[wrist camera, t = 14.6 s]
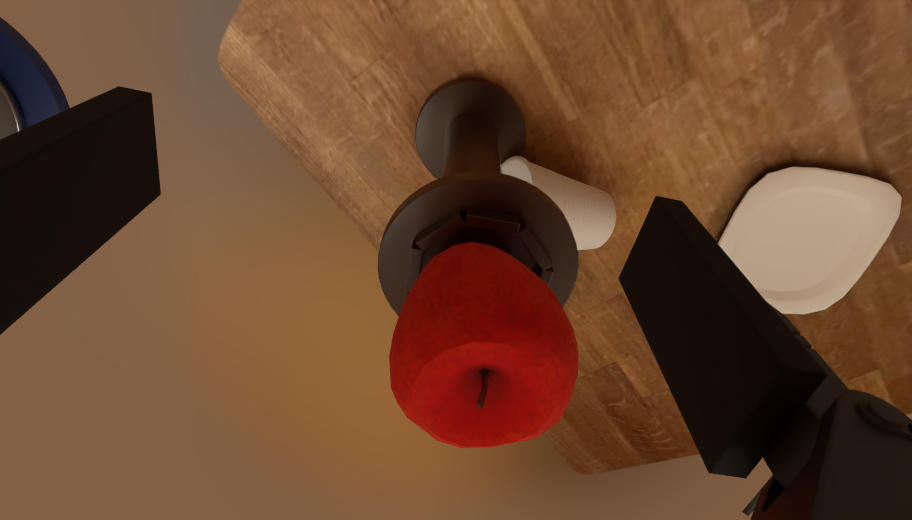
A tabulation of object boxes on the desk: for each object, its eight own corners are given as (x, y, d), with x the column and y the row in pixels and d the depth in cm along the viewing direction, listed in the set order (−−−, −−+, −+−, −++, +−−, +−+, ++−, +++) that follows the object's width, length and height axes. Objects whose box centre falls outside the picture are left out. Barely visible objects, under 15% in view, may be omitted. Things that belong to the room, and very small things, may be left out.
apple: (577, 234, 30) (629, 366, 21) (516, 344, 35) (537, 493, 25) (430, 185, 29) (417, 304, 19) (386, 306, 33) (358, 450, 24)
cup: (560, 216, 62) (476, 204, 57) (608, 153, 55) (517, 133, 50) (588, 285, 56) (497, 278, 52) (646, 224, 49) (546, 209, 45)
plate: (754, 152, 55) (762, 158, 53) (913, 180, 56) (925, 187, 55) (685, 292, 64) (690, 300, 63) (822, 313, 66) (830, 322, 64)
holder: (404, 176, 56) (366, 344, 33) (420, 61, 50) (388, 168, 27) (513, 195, 57) (549, 370, 34) (542, 84, 51) (611, 207, 28)
